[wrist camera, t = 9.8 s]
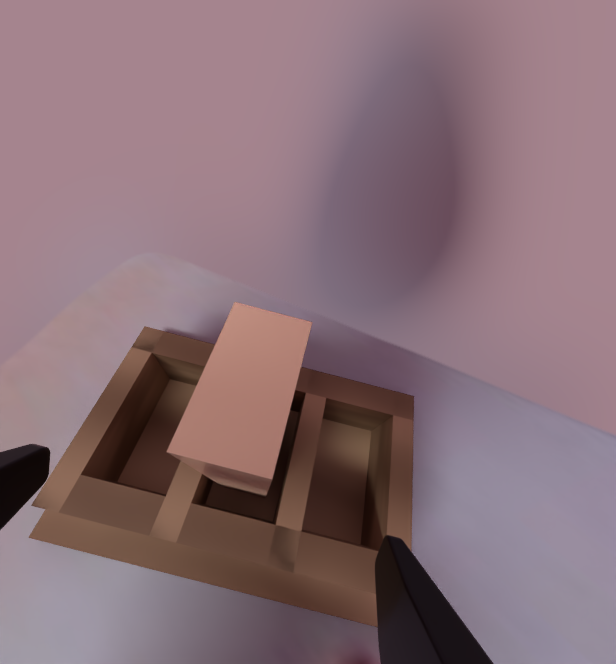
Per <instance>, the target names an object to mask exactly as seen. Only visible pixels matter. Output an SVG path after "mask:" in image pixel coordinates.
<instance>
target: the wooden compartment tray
mask: <svg viewBox="0 0 616 664" xmlns="http://www.w3.org/2000/svg"><path fill="white" fill-rule="evenodd" d="M214 346H215V344H211V343H207V342H203V341H199V340H195V339H191V338H188V337H184V336H180V335H176V334H172V333H168V332H164V331H161V330H157V329H153V328H149V327H144V328H143V330H142V332H141V333H140V335H139V336H138V338H137V339H136V341H135V343H134V344H133V346H132V347H131V349H130V350H129V352H128V354H127V355H126V357H125V358H124V360H123V362H122V363H121V365H120V366H119V368H118V369H117V371H116V373H115V374H114V376H113V377H112V379H111V380H110V382H109V384H108V385H107V387H106V388H105V390H104V392H103V393H102V395H101V396H100V398H99V399H98V401H97V403H96V404H95V406H94V407H93V409H92V410H91V412H90V414H89V415H88V417H87V418H86V420H85V422H84V423H83V425H82V426H81V428H80V429H79V431H78V433H77V434H76V436H75V437H74V439H73V440H72V442H71V444H70V445H69V447H68V448H67V450H66V452H65V453H64V455H63V456H62V458H61V459H60V461H59V463H58V464H57V466H56V467H55V469H54V470H53V472H52V474H51V475H50V477H49V478H48V480H47V482H46V483H45V485H44V486H43V488H42V489H41V491H40V493H39V494H38V496H37V497H36V499H35V500H34V502H33V504H32V505H31V506H35V507H39V508H43V509H46V510H45V511H44V513H43V515H42V516H41V518H40V519H39V521H38V523H37V524H36V526H35V528H34V529H33V531H32V533H31V534H30V536H29V538H32V539H36V540H40V541H44V542H48V543H52V544H56V545H59V546H63V547H67V548H71V549H75V550H79V551H83V552H87V553H91V554H95V555H98V556H102V557H106V558H110V559H114V560H118V561H122V562H126V563H130V564H133V565H137V566H141V567H145V568H149V569H153V570H157V571H161V572H165V573H169V574H172V575H176V576H180V577H184V578H188V579H192V580H196V581H200V582H204V583H208V584H211V585H215V586H219V587H223V588H227V589H231V590H235V591H239V592H243V593H246V594H250V595H254V596H258V597H262V598H266V599H270V600H274V601H278V602H282V603H285V604H289V605H293V606H297V607H301V608H305V609H309V610H313V611H317V612H321V613H324V614H328V615H332V616H336V617H340V618H344V619H348V620H352V621H356V622H359V623H363V624H367V625H371V626H375V627H378V624H377V605H376V586H375V560H376V557H377V554H378V551H379V549H380V546H381V544H382V541H383V539H384V537H385V536H386V535H391V536H395V537H398V538H401V539H402V540H403V541H404V542H405V544H406V545H407V546H408V548H409V549H410V550H411V539H412V479H413V418H414V396H411V395H407V394H404V393H400V392H396V391H392V390H388V389H384V388H380V387H377V386H373V385H369V384H365V383H361V382H357V381H353V380H350V379H346V378H342V377H338V376H334V375H330V374H326V373H323V372H319V371H315V370H311V369H307V368H303V367H301V369H300V372H299V376H298V380H297V384H296V388H295V392H294V396H293V400H292V404H291V408H290V412H289V416H288V420H287V423H286V427H285V431H284V435H283V439H282V443H281V447H280V451H279V455H278V459H277V463H276V467H275V471H274V475H273V478H272V481H271V484H270V487H269V489H268V492H267V495H266V498H263V497H259V496H256V495H252V494H248V493H244V492H240V491H236V490H232V489H229V488H225V487H223V486H221V485H220V484H218V483H216V482H215V481H213V480H211V479H210V478H208V477H207V476H205V475H203V474H202V473H200V472H198V471H197V470H195V469H193V468H192V467H190V466H189V465H187V464H185V463H184V462H182V461H180V460H179V459H177V458H175V457H174V456H172V455H171V454H169V453H167V450H168V447H169V445H170V443H171V441H172V439H173V437H174V434H175V432H176V430H177V428H178V426H179V423H180V421H181V419H182V417H183V415H184V412H185V410H186V408H187V406H188V404H189V401H190V399H191V397H192V395H193V393H194V390H195V388H196V386H197V384H198V382H199V379H200V377H201V375H202V373H203V371H204V368H205V366H206V364H207V362H208V360H209V357H210V355H211V353H212V351H213V349H214Z"/></svg>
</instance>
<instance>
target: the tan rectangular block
mask: <svg viewBox="0 0 616 664" xmlns="http://www.w3.org/2000/svg"><path fill="white" fill-rule="evenodd" d="M311 325H312V322H310V321H306V320H302V319H298V318H294V317H290V316H286V315H283V314H279V313H275V312H271V311H267V310H263V309H260V308H256V307H252V306H248V305H244V304H240V303H237V302H234V305H233V307H232V309H231V311H230V313H229V316H228V318H227V320H226V322H225V324H224V327H223V329H222V331H221V333H220V335H219V338H218V340H217V342H216V344H215V346H214V349H213V351H212V353H211V355H210V357H209V360H208V362H207V364H206V366H205V368H204V371H203V373H202V375H201V377H200V379H199V382H198V384H197V386H196V388H195V390H194V393H193V395H192V397H191V399H190V401H189V404H188V406H187V408H186V410H185V412H184V415H183V417H182V419H181V421H180V423H179V426H178V428H177V430H176V432H175V434H174V437H173V439H172V441H171V443H170V445H169V447H168V450H167V453H169V454H171V455H172V456H174V457H175V458H177V459H179V460H180V461H182V462H184V463H185V464H187V465H189V466H190V467H192V468H193V469H195V470H197V471H198V472H200V473H202V474H203V475H205V476H207V477H208V478H210V479H211V480H213V481H215V482H216V483H218V484H220V485H221V486H223V487H225V488H229V489H232V490H236V491H240V492H244V493H248V494H252V495H256V496H259V497H263V498H266V495H267V492H268V489H269V487H270V484H271V481H272V478H273V475H274V471H275V467H276V463H277V459H278V455H279V451H280V447H281V443H282V439H283V435H284V431H285V427H286V423H287V420H288V416H289V412H290V408H291V404H292V400H293V396H294V392H295V388H296V384H297V380H298V376H299V372H300V369H301V365H302V361H303V357H304V353H305V349H306V345H307V341H308V337H309V333H310V329H311Z"/></svg>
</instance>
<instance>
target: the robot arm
mask: <svg viewBox="0 0 616 664" xmlns="http://www.w3.org/2000/svg"><path fill="white" fill-rule="evenodd" d="M49 463H50V450H49V448H47V447H44V446H40V445H36V444H29V445H25V446H22V447H18V448H14V449H11V450H7V451H4V452H0V530H1V529H2V528H3V527H4V526H5V525H6V524H7V523H8V521H9V520H10V519H11V518H12V517H13V516H14V515H15V514H16V513H17V512H18V511H19V510H20V509H21V508H22V507H23V505H24V504H25V503H26V502H27V501H28V500H29V499H30V498H31V497H32V496H33V495H34V494H35V493H36V492H37V491H38V489H39V488H40V487H41V486H42V485H43V484H44V483H45V481H46V479H47V477H48V475H49ZM375 586H376V605H377V624H378V641H379V651H380V660H381V664H493V662H492V661H491V660H490V658H489V657H488V655H487V654H486V653H485V651H484V650H483V649H482V647H481V646H480V645H479V643H478V642H477V640H476V639H475V638H474V636H473V635H472V634H471V632H470V631H469V630H468V628H467V627H466V625H465V624H464V623H463V621H462V620H461V619H460V617H459V616H458V615H457V613H456V612H455V610H454V609H453V608H452V606H451V605H450V604H449V602H448V601H447V600H446V598H445V597H444V595H443V594H442V593H441V591H440V590H439V589H438V587H437V586H436V585H435V583H434V582H433V580H432V579H431V578H430V576H429V575H428V574H427V572H426V571H425V570H424V568H423V567H422V565H421V564H420V563H419V561H418V560H417V559H416V557H415V556H414V555H413V553H412V552H411V550H410V549H409V548H408V546H407V545H406V544H405V542H404V541H403V540H402V539H401V538H398V537H395V536H391V535H386V536H385V537H384V539H383V541H382V544H381V546H380V549H379V551H378V554H377V557H376V560H375Z"/></svg>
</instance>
